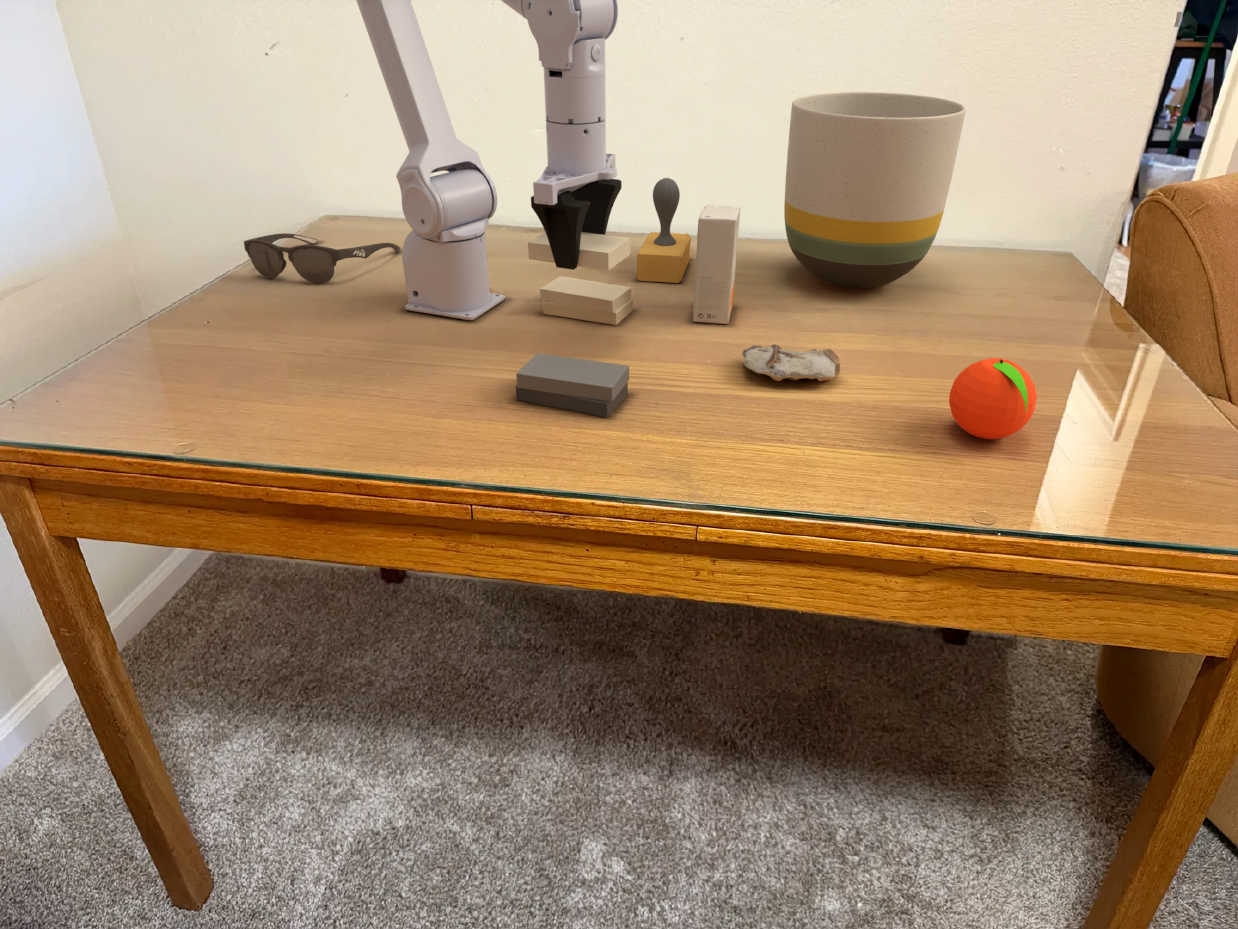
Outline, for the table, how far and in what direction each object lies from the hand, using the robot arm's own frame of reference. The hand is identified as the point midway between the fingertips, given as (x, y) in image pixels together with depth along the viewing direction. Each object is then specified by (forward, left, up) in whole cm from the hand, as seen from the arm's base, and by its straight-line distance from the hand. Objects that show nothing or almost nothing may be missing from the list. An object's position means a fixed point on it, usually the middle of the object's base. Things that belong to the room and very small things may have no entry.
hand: (579, 259), depth 88 cm
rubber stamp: (0, +27, -10) cm, 28 cm away
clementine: (+42, -5, -10) cm, 43 cm away
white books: (-3, +9, -9) cm, 13 cm away
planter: (+24, +32, -10) cm, 41 cm away
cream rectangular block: (0, 0, 0) cm, 0 cm away
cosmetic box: (+11, +14, -10) cm, 20 cm away
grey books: (+5, -12, -9) cm, 16 cm away
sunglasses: (-44, +12, -10) cm, 47 cm away
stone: (+23, +1, -10) cm, 25 cm away
